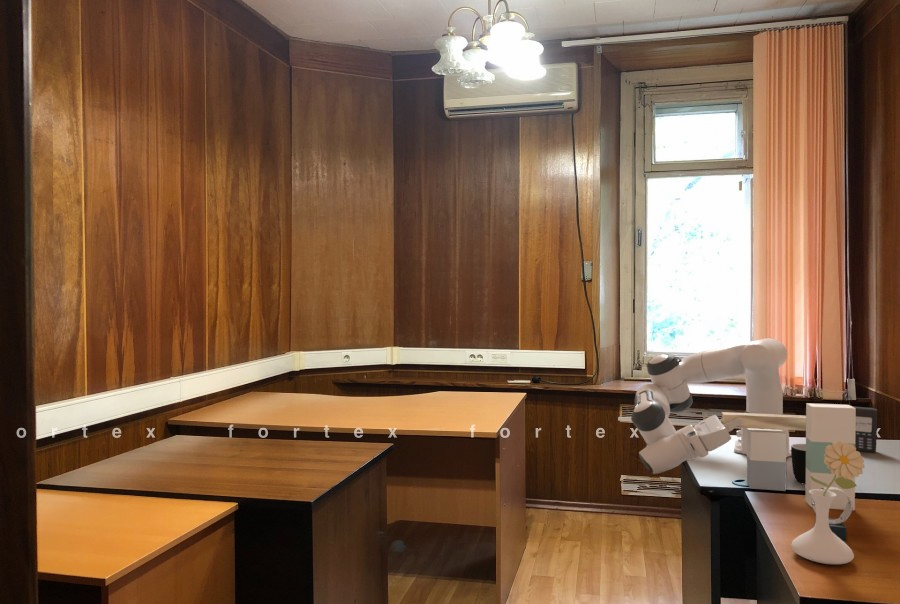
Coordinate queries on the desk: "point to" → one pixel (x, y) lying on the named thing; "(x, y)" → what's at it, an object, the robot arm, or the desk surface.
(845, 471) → the flower in vase
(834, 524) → the watch
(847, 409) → the tower
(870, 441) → the card reader
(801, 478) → the mug
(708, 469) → the desk surface
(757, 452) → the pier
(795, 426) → the batten
